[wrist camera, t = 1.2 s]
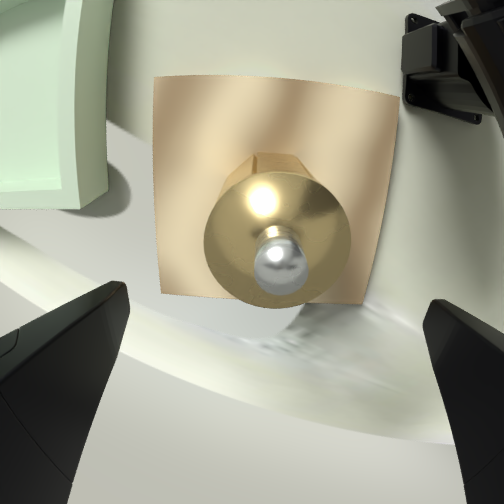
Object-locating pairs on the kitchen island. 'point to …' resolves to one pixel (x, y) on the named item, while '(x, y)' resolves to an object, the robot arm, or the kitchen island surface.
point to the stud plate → (270, 141)
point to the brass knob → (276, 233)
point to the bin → (53, 102)
